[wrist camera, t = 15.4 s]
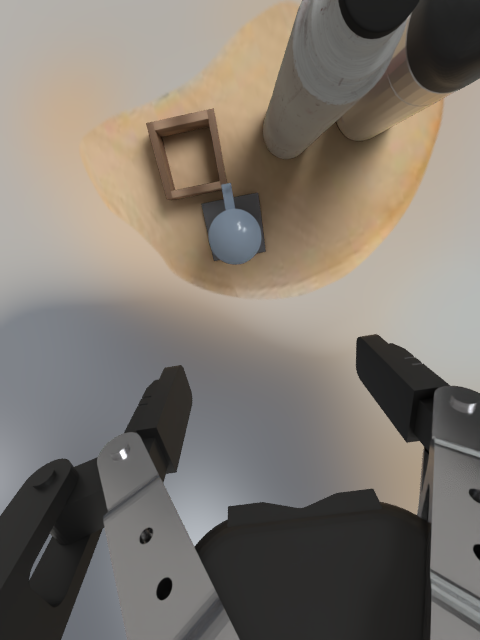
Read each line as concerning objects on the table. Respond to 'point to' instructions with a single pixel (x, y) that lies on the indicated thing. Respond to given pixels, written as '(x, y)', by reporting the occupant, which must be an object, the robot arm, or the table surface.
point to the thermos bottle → (330, 66)
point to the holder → (180, 126)
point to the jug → (234, 232)
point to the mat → (241, 202)
